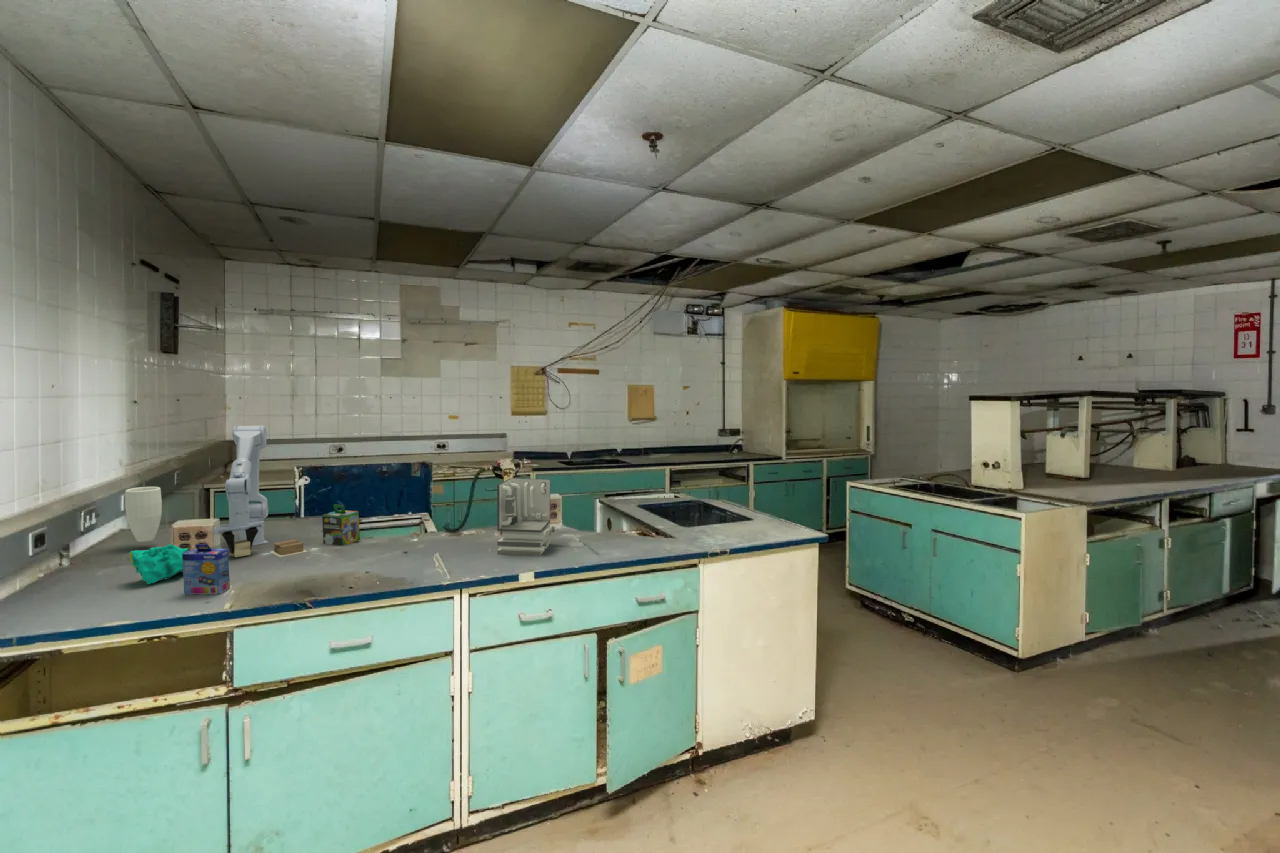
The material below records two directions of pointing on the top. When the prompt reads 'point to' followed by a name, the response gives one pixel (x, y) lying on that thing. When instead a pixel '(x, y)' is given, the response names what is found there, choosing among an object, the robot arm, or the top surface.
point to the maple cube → (241, 548)
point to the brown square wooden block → (288, 547)
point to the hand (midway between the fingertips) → (240, 551)
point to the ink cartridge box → (205, 570)
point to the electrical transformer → (524, 516)
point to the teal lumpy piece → (158, 562)
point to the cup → (143, 511)
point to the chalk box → (340, 526)
